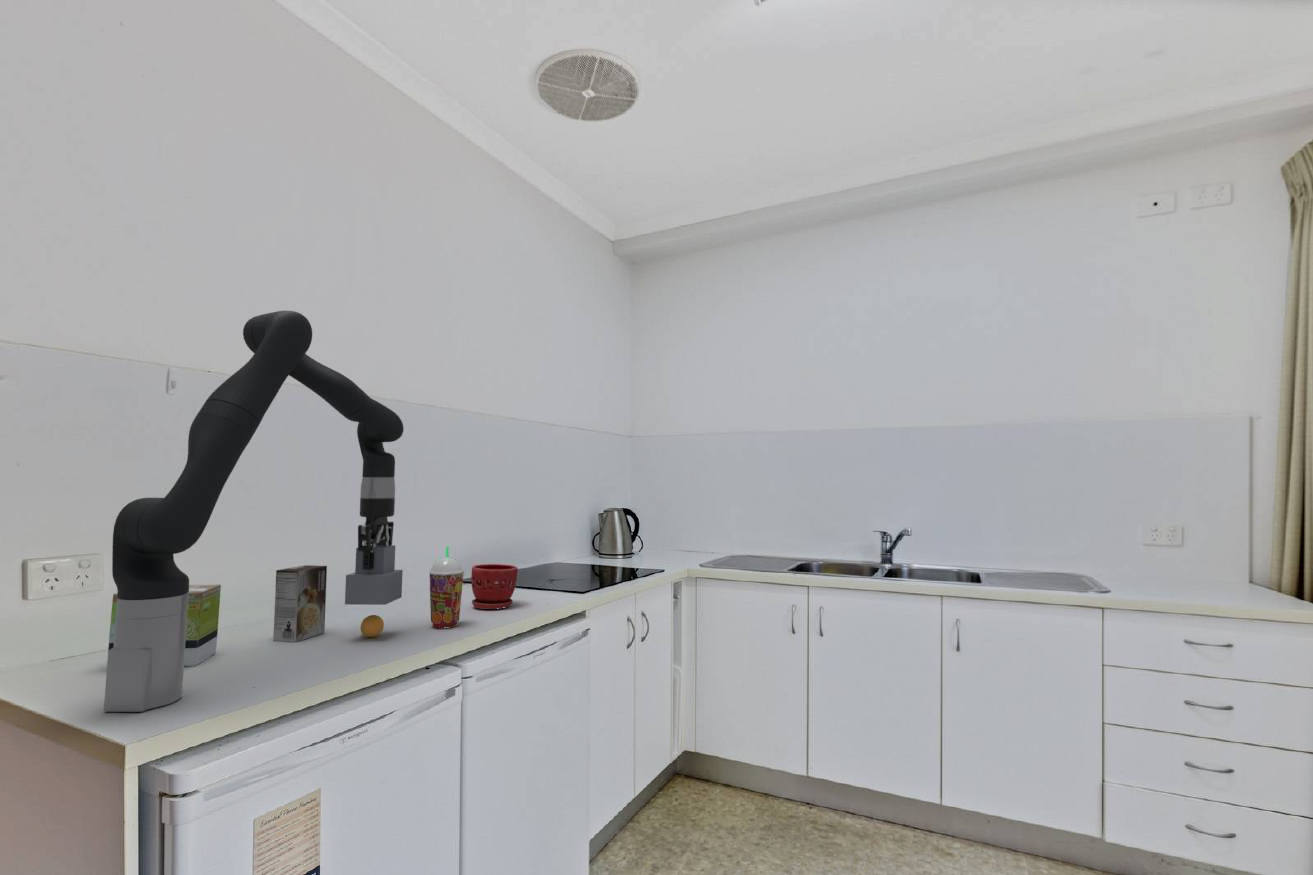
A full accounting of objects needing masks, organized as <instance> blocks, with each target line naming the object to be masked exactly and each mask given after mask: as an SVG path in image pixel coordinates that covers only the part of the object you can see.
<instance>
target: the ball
mask: <svg viewBox="0 0 1313 875" xmlns="http://www.w3.org/2000/svg"><path fill="white" fill-rule="evenodd" d="M384 627H385V623H384V619H383V618H382V617H381V616H379V615H378V614H377V615H376V614H370V615H368V616H366V617H365V618H364V619H363V620H362V621H361V623H360V632H361V633H362V635H363V636H365V637H367V638H375V637H377V636H379V635H380V634H381V633H382V631H383V630H384Z"/></svg>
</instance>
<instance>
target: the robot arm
mask: <svg viewBox="0 0 1313 875" xmlns="http://www.w3.org/2000/svg"><path fill="white" fill-rule="evenodd" d="M242 335H243V340H244V342H245V345H246V346H247V348H248V349H249V350H250V351H251V352H252V353H253V355H252V356H251V358H250V359H249V360H248V361H247V362H246V363H245V364H244V365H243V366H242V367H241V368H239V369H238V370H237V371H236V372H235V373H233V374H232V375H231V376H229V377H228V378H227V379H226V380H225V381H224V382H222V383H221V384H220V385H219V386H218V387H217V388H216V389H214V391H213V392H212V393H211V394H210V395H209V396H208V397H207V399H206V401H205V402H204V404H202V406H201V408H200V410H199V411H198V413H197V414H196V415H195V417H194V418H193V420H192V422H191V424H190V427H189V431H188V439H187V445H188V446H187V459H186V463H185V465H184V468H183V470H182V472H181V474H180V475H179V477H178V479H177V480H176V482H175V483H174V484H173V486H172V487H171V489H170V490H169V492H168V493H167V494H166V495H165V497H143V498H142V497H141V498H137V499H134V500H132V501H130V502H128V503H127V504H126V505H125V506H124V507H122V508H121V510H120V511H119V512H118V515H117V516H116V519H115V521H114V525H113V529H112V530H113V533H112V551H111V552H112V555H111V556H112V559H111V560H112V561H111V562H112V563H111V564H112V565H111V566H112V567H111V570H112V571H111V572H112V579H113V582H114V584H115V585H116V589H117V593H116V594H117V608H116V620H115V634H114V647H113V648H112V649H110V650H109V651H108V650H107V663H106V674H105V675H106V676H105V689H104V690H105V691H104V702H103V712H108V713H109V712H114V713H115V712H116V713H117V712H127V713H128V712H129V713H130V712H132V713H136V712H139V713H142V712H146V711H147V710H150V709H155V708H161V707H163V706H167V705H169V704H172V703H174V702H177V701H178V700H180V699H181V698H182V697H183V684H184V683H183V682H184V668H185V667H184V656H185V640H186V625H187V610H188V595H189V585H190V578H189V576H188V575H187V574H186V573H185V572H183V571H182V570H181V569H179V567H178V566H177V563H175V558H174V555H176V554H180V553H183V552H186V551H187V550H189V549H190V548H192V546H194V545H195V544H196V543H197V542H198V540H199V539H200V538H201V536H202V535H203V533H204V531H205V529H206V527H207V525H208V523H209V521H210V518H211V516H212V514H213V511H214V509H215V507H216V505H217V502H218V500H219V498H220V495H221V493H222V491H223V489H224V487H225V485H226V483H227V481H228V479H229V477H230V475H231V474H232V472H233V470H234V468H235V467H236V464H237V463H238V462H239V459H240V458H241V456H242V454H243V453H244V451H245V450H246V448H247V446H248V445H249V443H250V441H251V440H252V438H253V436H254V434H255V433H256V431H257V429H258V428H259V426H260V424H261V422H262V421H263V419H264V416H265V414H266V413H267V411H268V410H269V408H270V406H271V405H272V403H273V402H274V400H275V398H276V397H277V395H278V393H279V391H280V389H281V387H282V386H283V384H284V383H285V381H286V379H287V378H288V377H289V376H290V377H291V378H293V379H294V380H296V381H297V382H299V383H300V384H301V385H303V386H305V387H306V388H308V389H309V390H311V391H312V392H314V393H315V394H316V395H318V397H320V398H321V399H323V400H324V401H325V402H326V403H328V404H329V406H331V407H332V408H333V409H335V411H337V412H338V413H339V414H340V415H341V416H343V417H344V418H345V419H347V420H349V421H351V422H356V423H358V424H357V428H356V429H357V430H356V434H357V435H356V436H357V441H358V445H359V450H360V453H361V457H362V460H363V461H362V476H361V477H362V478H361V483H360V497H359V516H360V517H362V518H365V522H364V524H359V525H358V526H357V548H358V551H362V553H363V569H364V570H371V569H373V568H374V551H375V547H376V545H393V536H394V527H395V526H394V525H395V524H394V521H388V520H389V519H388V517H389V518H391V517H393V516H394V515H395V505H396V504H395V503H396V502H395V500H396V483H395V482H396V481H395V476H396V475H395V471H396V458H395V456H394V455H393V454H392V453H390V452H387V451H385V447H384V443H392V442H396V441H398V440H399V439H401V437H402V436H403V433H404V431H405V430H404V424H403V421H402V419H401V418H400V416H399V415H398V414H397V413H396V412H395V411H393V410H392V409H391V408H389V407H388V406H386V405H385V404H382V403H381V402H379V401H377V400H376V399H373V398H371V396H369V395H368V393H366V392H365V391H364V390H363V389H362V388H360V387H359V386H358V385H357V384H356V383H355V382H354V381H352V380H351V379H350V378H348V377H347V376H345V375H344V374H342V373H340V372H339V371H336V370H335V369H333V368H330V367H328V366H327V365H324V364H322V363H321V362H318V361H317V360H316V359H314V358H312V357H311V356H310V355H308V354H306V353H307V352H308V350H309V348H310V346H311V343H312V340H313V328H312V326H311V323H310V321H309V319H308V318H307V317H306V316H305V315H303V313H300V312H297V311H295V310H278V311H274V312H273V311H272V312H267V313H263V314H259V315H255V316H253V317H251V318H250V319H248V320H247V321H246V323H245V324H244V326H243V330H242Z"/></svg>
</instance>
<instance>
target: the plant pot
mask: <svg viewBox="0 0 1313 875" xmlns="http://www.w3.org/2000/svg"><path fill="white" fill-rule="evenodd" d="M470 579H471V590H472V593H473V596H474V599H472V600H471V604H472V606H473V607H474V608H476V609H477V608H478V609H479V608H480V609H479V610H484V609H497V608H503V607H507V606H509V605H510V606H511V605H512V604H513V599H511V598H512V597H513V594H514V592H515V590H516V586H517V581H518V567H517V566H515V565H511V564H502V563H501V564H499V563H488V564H487V563H485V564H476V565H473V566H472V568H471V578H470ZM496 582H498V583H496ZM510 606H509V607H510ZM507 608H508V607H507ZM503 609H504V608H503ZM497 610H498V609H497Z"/></svg>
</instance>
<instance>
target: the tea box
mask: <svg viewBox="0 0 1313 875" xmlns="http://www.w3.org/2000/svg"><path fill="white" fill-rule="evenodd" d="M221 588H222V585H221V584H189V595H188V610H187V625H186V640H185V656H184V668H185V667H186V666H187V668H188V666H192V667H196V666H198V665H199V664H201V663H203V662H205V661H206V660H207V659H209V658H210V657H212V656H213V655H215V654H216V653H217V652H216V651H217V643H218V630H219V618H220V615H219V614H220V606H221V605H220V604H221V591H222V590H221ZM111 605H112V606H111V612H110V615H111V616H110V625H109V638H108V647H107V649H108V650H107V652H108V651H109V650H110V649H112V648H113V647H114V634H115V620H116V608H117V593H113V595H112V602H111ZM205 659H206V660H205ZM197 664H198V665H197Z"/></svg>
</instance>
